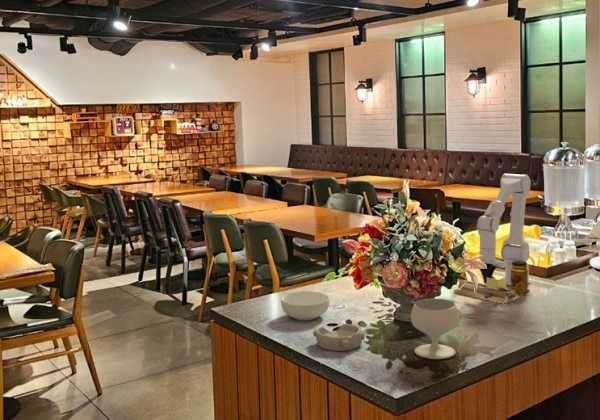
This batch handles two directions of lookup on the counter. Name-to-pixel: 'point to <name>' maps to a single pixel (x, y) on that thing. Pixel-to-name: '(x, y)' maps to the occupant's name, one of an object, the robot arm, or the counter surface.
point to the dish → (339, 338)
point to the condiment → (519, 277)
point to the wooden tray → (487, 293)
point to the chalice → (435, 325)
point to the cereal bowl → (305, 304)
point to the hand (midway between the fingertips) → (487, 283)
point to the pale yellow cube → (496, 282)
